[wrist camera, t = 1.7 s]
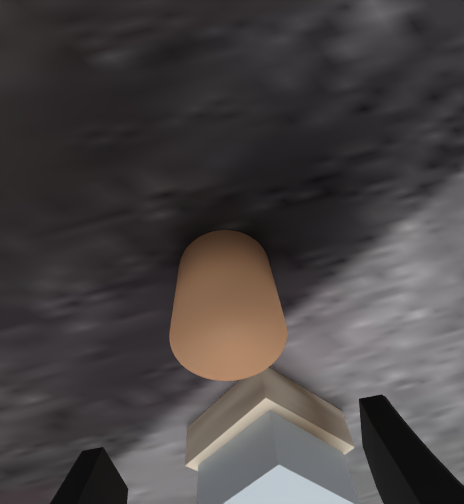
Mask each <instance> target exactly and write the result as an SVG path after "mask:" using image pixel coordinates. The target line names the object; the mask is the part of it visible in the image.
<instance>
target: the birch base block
mask: <svg viewBox="0 0 464 504" xmlns="http://www.w3.org/2000/svg"><path fill="white" fill-rule="evenodd" d="M269 410H271V411H273V412H274V413H276V414H278V415H279V416H281V417H283V418H285V419H286V420H288V421H290V422H291V423H293V424H295V425H297V426H298V427H300V428H302V429H303V430H305V431H307V432H308V433H310V434H312V435H314V436H315V437H317V438H319V439H320V440H322V441H324V442H326V443H327V444H329V445H331V446H332V447H334V448H336V449H337V450H339V451H341V452H343V454H344V455H345V454H346V453H348V452H349V451H351V450H352V449H353V448H355V446H354V444H353V441H352V438H351V435H350V433H349V430H348V427H347V424H346V422H345V419H344V416H343V413H342V411H341V410H339V409H338V408H336V407H334V406H333V405H331V404H329V403H328V402H326V401H324V400H323V399H321V398H319V397H318V396H316V395H314V394H313V393H311V392H309V391H308V390H306V389H304V388H303V387H301V386H299V385H298V384H296V383H294V382H293V381H291V380H289V379H288V378H286V377H284V376H283V375H281V374H279V373H278V372H276V371H274V370H273V369H271V368H269V367H268V368H267V369H265V370H264V371H262V372H260V373H258V374H256V375H254V376H251V377H248V378H245V379H241V380H239V381H238V382H237V383H236V384H235V385H234V386H233V387H232V388H231V389H229V390H228V391H227V392H226V393H225V394H224V395H223V396H222V397H221V398H219V399H218V400H217V401H216V402H215V403H214V404H213V405H212V406H211V407H209V408H208V409H207V410H206V411H205V412H204V413H203V414H202V415H201V416H199V417H198V418H197V419H196V420H195V421H194V422H193V423H192V424H191V425H189V426H188V427H187V442H186V459H185V466H187V467H189V468H191V469H194V470H196V471H198V465H199V464H201V463H202V462H203V461H204V460H206V459H207V458H208V457H210V456H211V455H212V454H213V453H215V452H216V451H217V450H219V449H220V448H221V447H222V446H224V445H225V444H226V443H228V442H229V441H230V440H232V439H233V438H234V437H235V436H237V435H238V434H239V433H241V432H242V431H243V430H244V429H246V428H247V427H248V426H250V425H251V424H252V423H253V422H255V421H256V420H257V419H259V418H260V417H261V416H262V415H264V414H265V413H266V412H268V411H269Z"/></svg>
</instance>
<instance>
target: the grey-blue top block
mask: <svg viewBox="0 0 464 504" xmlns="http://www.w3.org/2000/svg"><path fill="white" fill-rule="evenodd" d="M197 504H360V503H359V500H358V497H357V494H356V491H355V488H354V485H353V482H352V479H351V476H350V473H349V470H348V467H347V464H346V460H345V457H344V454H343V452H341V451H339V450H337V449H336V448H334V447H332V446H331V445H329V444H327V443H326V442H324V441H322V440H320V439H319V438H317V437H315V436H314V435H312V434H310V433H308V432H307V431H305V430H303V429H302V428H300V427H298V426H297V425H295V424H293V423H291V422H290V421H288V420H286V419H285V418H283V417H281V416H279V415H278V414H276V413H274V412H273V411H271V410H269V411H268V412H266V413H265V414H264V415H262V416H261V417H260V418H259V419H257V420H256V421H255V422H253V423H252V424H251V425H250V426H248V427H247V428H246V429H244V430H243V431H242V432H241V433H239V434H238V435H237V436H235V437H234V438H233V439H232V440H230V441H229V442H228V443H226V444H225V445H224V446H222V447H221V448H220V449H219V450H217V451H216V452H215V453H213V454H212V455H211V456H210V457H208V458H207V459H206V460H204V461H203V462H202V463H201V464H199V465H198V485H197Z"/></svg>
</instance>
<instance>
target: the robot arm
mask: <svg viewBox="0 0 464 504" xmlns="http://www.w3.org/2000/svg"><path fill="white" fill-rule="evenodd" d="M359 406H360V418H361V431H362V444H363V448H364V451H365V454H366V458H367V461H368V464H369V467H370V470H371V472H372V475H373V478H374V481H375V484H376V487H377V489H378V492H379V494H380V496H381V499H382V501H383V503H384V504H464V486H463V485H462V484H461V483H460V482H459V481H458V480H457V479H456V478H455V477H454V476H453V474H452V473H451V472H450V471H449V470H448V469H447V468H446V467H445V466H444V465H443V464H442V463H441V462H440V461H439V460H438V459H437V457H436V456H435V455H434V454H433V453H432V452H431V451H430V450H429V449H428V448H427V447H426V445H425V444H424V443H423V442H422V441H421V440H420V439H419V437H418V436H417V435H416V434H415V433H414V432H413V430H412V429H411V428H410V427H409V426H408V425H407V423H406V422H405V421H404V420H403V419H402V417H401V416H400V415H399V414H398V412H397V411H396V410H395V409H394V407H393V406H392V405H391V403H390V402H389V401H388V399H387V398H386V397H385V396H383V395H377V396H372V397H366V398H361V399H359ZM127 496H128V488H127V486H126V484H125V483H124V481H123V479H122V478H121V476H120V474H119V473H118V471H117V469H116V468H115V466H114V464H113V463H112V461H111V459H110V458H109V456H108V454H107V453H106V451H105V449H104V448H103V447H101V448H96V449H90V450H85V451H82V452H81V454H80V455H79V457H78V459H77V460H76V462H75V464H74V465H73V467H72V468H71V470H70V472H69V473H68V475H67V477H66V478H65V480H64V482H63V483H62V485H61V487H60V488H59V490H58V492H57V493H56V495H55V496H54V498H53V500H52V501H51V503H50V504H127Z"/></svg>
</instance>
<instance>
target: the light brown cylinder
mask: <svg viewBox="0 0 464 504" xmlns="http://www.w3.org/2000/svg"><path fill="white" fill-rule="evenodd" d="M169 339H170V345H171V349H172V351H173V353H174V355H175V357H176V358H177V360H178V361H179V362H180V363H181V364H182V365H183V366H184V367H185V368H186V369H188V370H189V371H191V372H192V373H194V374H196V375H199V376H201V377H204V378H207V379H212V380H218V381H234V380H241V379H245V378H248V377H251V376H254V375H256V374H258V373H260V372H262V371H264V370H265V369H267V368H268V367H269V366H271V365H272V364H273V363H274V362H275V361H276V360H277V359H278V357H279V356H280V355H281V353H282V351H283V349H284V347H285V344H286V340H287V326H286V323H285V319H284V315H283V312H282V308H281V304H280V301H279V297H278V293H277V290H276V286H275V282H274V279H273V275H272V271H271V268H270V264H269V260H268V257H267V254H266V252H265V251H264V249H263V248H262V246H261V245H260V244H259V243H258V242H257V241H256V240H255V239H253V238H252V237H250V236H248V235H246V234H244V233H241V232H238V231H232V230H218V231H213V232H209V233H206V234H204V235H202V236H200V237H198V238H197V239H195V240H194V241H193V242H192V243H191V244H190V245H189V246H188V247H187V248H186V249H185V251H184V253H183V255H182V257H181V260H180V264H179V270H178V277H177V284H176V291H175V298H174V305H173V312H172V319H171V327H170V337H169Z"/></svg>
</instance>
